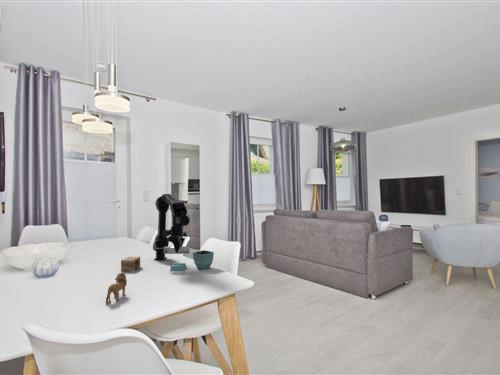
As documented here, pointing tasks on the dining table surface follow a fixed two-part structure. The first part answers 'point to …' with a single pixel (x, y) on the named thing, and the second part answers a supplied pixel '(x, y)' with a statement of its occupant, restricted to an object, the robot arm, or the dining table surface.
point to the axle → (172, 251)
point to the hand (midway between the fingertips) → (178, 251)
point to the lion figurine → (117, 287)
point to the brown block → (130, 263)
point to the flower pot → (203, 259)
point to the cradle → (178, 267)
